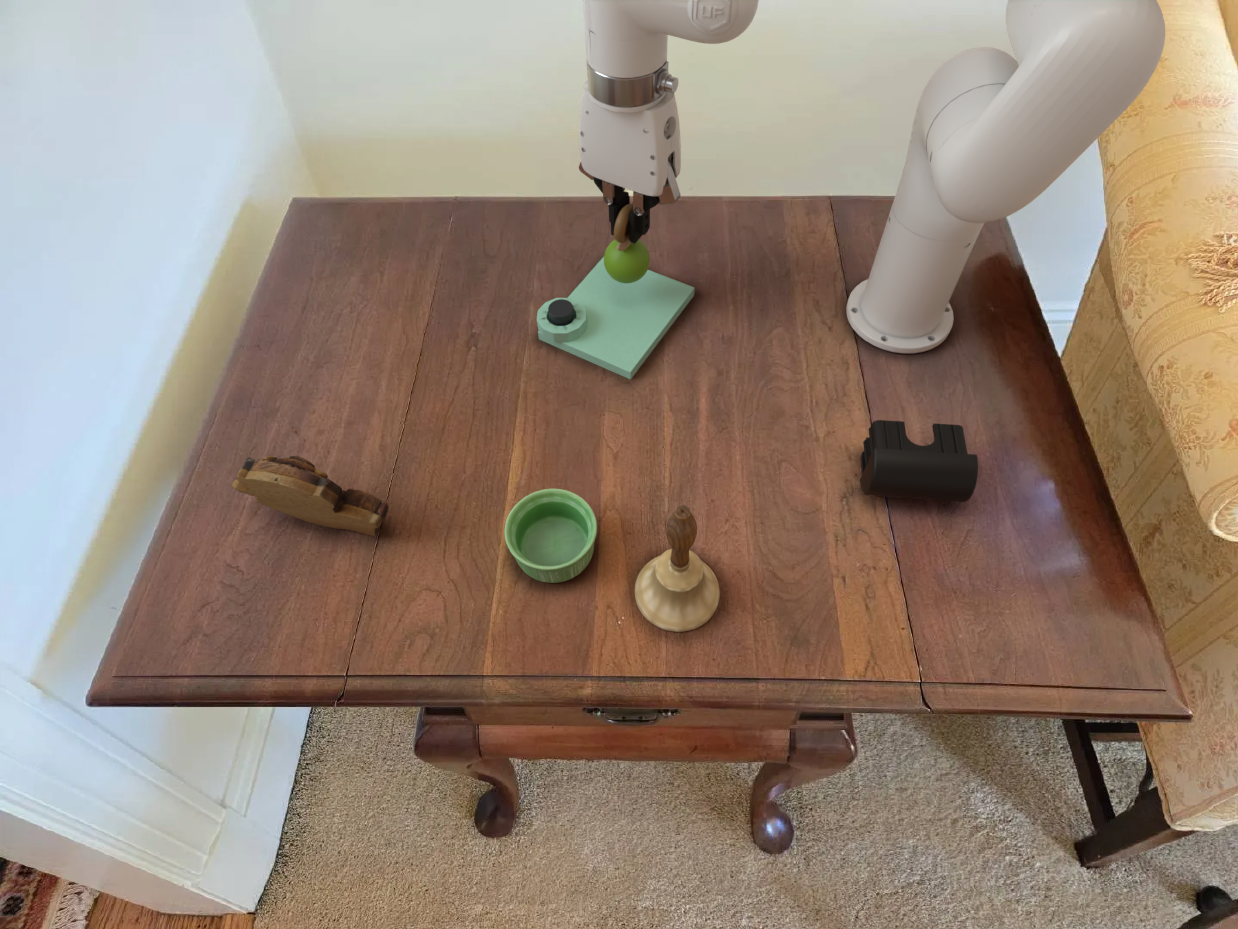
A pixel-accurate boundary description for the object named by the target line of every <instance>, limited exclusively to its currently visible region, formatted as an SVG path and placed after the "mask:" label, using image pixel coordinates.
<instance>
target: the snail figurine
mask: <svg viewBox="0 0 1238 929" xmlns="http://www.w3.org/2000/svg"><path fill="white" fill-rule="evenodd" d="M632 210H633V203H630V204H627V205H625V206H624V207H623V208H622V209H621V211H620V212H619V214H618V217H617V219H616V222H615V227H614V236H613V238H614V239H613V240H612V241H611V242H610V243H609V244H608V245H607V247H606V249H605V250H604V255H603V257H604V265H605V268H606V271H607V273H608V274H609V275H610V276H611V277H612V278H613V279H614V280H616V281H618V282H620V283H633V282H636V281H638V280H639V279H641V278H642V277H643V276H644V275H645V274H646V272H647V270H649V268H650V263H651V259H650V257H651V256H650V252H649V249H648V247H647V246H646V244H645V243H644V242H643V241H642V240H641V239H639V240H638V241H637V242H636V243H635V244H634V243H632V242H630V240H629V213H630V212H631V211H632Z"/></svg>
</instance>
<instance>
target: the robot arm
mask: <svg viewBox="0 0 1238 929" xmlns="http://www.w3.org/2000/svg"><path fill="white" fill-rule="evenodd" d="M759 1H760V0H582V2H583V3H582V6H583V8H582V9H583V22H584V36H585V37H584V40H585V41H584V42H585V58H586V59H585V60H586V61H585V62H586V75H587V80H586V81H585V82H584V85H583V89H582V95H581V101H580V108H579V119H578V123H579V124H578V144H579V145H578V146H579V148H578V149H579V159H580V162H579V165H578V170H579V172H580V173H582V174H583V175H585V177H587V178H588V179H589V180H591V181H593V183H594V185H595V187H597V188H598V190H599V191H600V192H601V193H602V200H603V202H604V203H605V204H606V205H608V221H609V223H610V234H611V235H612V236H613V237H614V227H615V222H616V219H617V217H618V214H619V212H620V211H621V209H622V208H623V207H624V206H625V205H627V204H631V203H630V202H631V197H630V195H629V194H630V192H628V191H625V190H629V191H632V204H633V210H632V211H631V212H630V213H629V240H630V242H632V243H634V244H635V243H636V242H637V241H638V240H641V238H642V237H643V236H645V235H646V234H647V233H648V232H649V230H650V227H651V209H653V208H654V207H656V206H657V205H661V206H666V205H668V206H670V205H672V206H673V205H675V204H676V203H677V201H678V200H679V199H681V191H680V188H679V184H678V182H677V178H678V176H680V173H681V167H682V166H681V165H682V144H681V142H682V140H681V125H680V117H679V116H680V115H679V110H678V105H677V103H678V102H677V99H676V95H675V93H676V92H677V90H678V87H679V78H678V77H675V76H672V74H671V73H669V61H668V41H669V40H668V38H669V36H670V37H674V38H678V39H682V40H686V41H691V42H695V43H699V44H707V45H715V44H716V45H718V44H724V43H727V42H730V41H733V40H734V39H736V38H738V37H739V36H741V35H742V34H743V33H744V32H745V31H746V30H747V29H748V28H749V27H750V25H751V24H752V23H753V20H754V18H755V16H756V13H757V10H758V6H759ZM1164 18H1165V17H1164V14H1163V11H1162V8H1161V7H1160V4H1159V2H1158V0H1007V3H1006V7H1005V24H1006V31H1007V35H1008V39H1009V43H1010V45H1011V48H1012V51H1013V53H1014V56H1015V57H1013V56H1012V55H1010V54H1009V53H1007V52H1005V51H1004V50H1001V49H999V48H995V47H988V46H979V47H978V46H977V47H973V48H969V49H965V50H962V51H961V52H959V53H957V54H955V55H953V56H952V57H950V58H948V59H947V60H946V61H944V62H943V63H942V64H941V65H940V66H939V67H938V68H937V69H936V70H935V71H934V72H933V74H932V75H931V77H930V78H929V80H927V82H926V85H925V86H924V87H923V88H924V89H923V91H922V92H921V95H920V97H919V100H918V102H917V106H916V109H915V115H914V119H913V123H912V127H911V132H910V138H909V143H908V148H907V153H906V157H905V161H904V165H903V168H902V172H901V176H900V179H899V183H898V186H897V188H896V192H895V196H894V198H893V201H892V204H891V208H890V210H889V214H888V216H887V220H886V222H885V226H884V229H883V232H882V235H881V239H880V242H879V243H878V244H879V245H878V248H877V251H876V255H875V257H874V260H873V262H872V265H871V266H872V267H871V270H870V273H869V276H868V278H866V279H865V280H863V281H861V282H860V283H859V284H857V285H856V286H855V287H854V288H853V289H852V291H851V292H850V293H849V294H850V295H849V296H848V298H847V303H846V305H845V306H846V308H845V311H846V312H845V314H846V317H847V321H848V323H849V325H850V327H851V328H852V329H853V331H854V332H855V333H856V334H857V335H858V336H859V337H860V338H862V339H863V340H864V341H865V342H867V343H869V344H871V345H872V346H874V347H877V348H879V349H881V350H884V351H888V352H892V353H899V354H918V353H924V352H927V351H930V350H932V349H935V348H936V347H938V346H940V345H941V344H942V343H943V342H944V341H945V340H946V339H947V338H948V336H949V334H950V332H951V330H952V328H953V325H954V319H955V318H954V311H953V308H952V306H951V304H950V299H951V297H952V296H953V293H954V291H955V289H956V286H957V285H958V282H959V280H960V277H961V275H962V273H963V271H964V269H965V267H966V264H967V262H968V260H969V258H970V255H971V253H972V251H973V250H974V249H973V248H974V247H975V244H976V242H977V239H978V237H979V235H980V233H981V230H982V228H984V225H985V223H986V224H987V223H991V222H995V221H1000V220H1002V219H1005V218H1007V217H1009V216H1011V215H1013V214H1015V213H1017V212H1019V211H1020V210H1022V209H1024V208H1025V207H1026V206H1028V205H1029V204H1030V203H1032V202H1034V200H1035V199H1037V198H1038V197H1039V196H1041V194H1043V193H1044V192H1045V191H1046V190H1047V189H1048V188H1049V187H1050V186H1051V185H1052V184H1053V183H1055V181H1056V180H1057V179H1058V178H1059V177H1061V175H1062V174H1063V173H1065V171H1067V169H1069V168H1070V167H1071V165H1072V164H1073V163H1075V162H1076V161H1077V159H1079V158H1080V157H1081V155H1082V154H1083V153H1084V152H1086V150H1088V149H1089V147H1090V146H1091V145H1092V144H1093V143H1094V142H1096V140H1097V139H1098V138H1100V136H1101V135H1103V133H1105V132H1106V131H1107V129H1108V128H1110V126H1112V124H1113V123H1115V121H1116V120H1117V119H1118V118H1119V117H1120V116H1121V115H1122V114H1123V113H1124V112H1126V110H1127V109H1128V108H1129V107H1130V106H1131V105H1132V104H1133V102H1135V101H1136V99H1137V98H1138V96H1140V94H1141V93H1142V92H1143V90H1144V89H1145V87H1146V86H1147V84H1148V83H1149V81H1150V80H1151V77H1152V76H1153V75H1154V73H1155V70H1156V69H1157V68H1158V65H1159V62H1160V60H1161V58H1162V54H1163V52H1164V47H1165V42H1166V23H1165V19H1164Z"/></svg>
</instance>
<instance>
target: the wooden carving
mask: <svg viewBox="0 0 1238 929" xmlns="http://www.w3.org/2000/svg"><path fill="white" fill-rule="evenodd" d="M328 477H329V475H328V474H327V472H325V471H323V470H321V469H317V468H316V466H315V464H314V463H312V462H311V461H309V460H307V459H306V458H304V457H302V456H298V455H290V456H289V457H277V456H273V455H267V456H265V457H264V458H256V459H255V458H252V457H247V458H246V459H245V460H244V462H243V465H242V467H241V468H239V470H238V471H237V473H236V478H235V480H233V482H232V484H231V487H232V489H234V490H236V491H237V492H239V493H242V494H246V495H249V496H253V497H256V498H255V502H256V503H258V504H260V505H262V506H265V507H267V508H270V509H272V510H275V511H277V512H280V513H282V514H285V515H288V516H291V517H292V518H295V519H299V520H301V521H305V522H308V523H311V524H314V525H317V526H322V527H326V528H330V529H336V530H349V531H353V532H356V533H358V534H363V535H366V536H370V537H374V538H375V537H377V536H378V534H379V532H380V529H381V525H382V523H383V521H384V520H385V518H386V516H387V513H388V512H389V511H388V510H389V506H390V505H388V503H386V502H385V501H383V500H381V499H380V498H378V497H377V496H375V495H372V494H370V493H369V492H365V491H363V490H361V489H354V488H348V489H346V490H345V489H343V488H342V487H341V486H340V485H338V484H337V483H335V481H333V480H331V479H329V478H328Z"/></svg>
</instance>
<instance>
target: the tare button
mask: <svg viewBox="0 0 1238 929" xmlns="http://www.w3.org/2000/svg"><path fill="white" fill-rule="evenodd" d="M548 312H549V319H550V321H551V322H552V323H553V324H554V325H557V326H566V325H568V324H570V323H571V322H572V321H573V319H574V308H573V305H572V303H571V302H569V301H568V300H564V299H559V300H555V301H553V302H552V303H551V304H550V305H549V307H548Z"/></svg>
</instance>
